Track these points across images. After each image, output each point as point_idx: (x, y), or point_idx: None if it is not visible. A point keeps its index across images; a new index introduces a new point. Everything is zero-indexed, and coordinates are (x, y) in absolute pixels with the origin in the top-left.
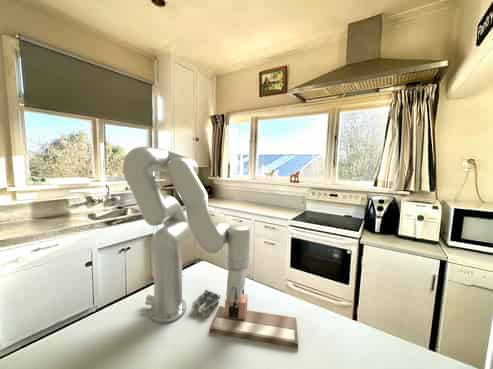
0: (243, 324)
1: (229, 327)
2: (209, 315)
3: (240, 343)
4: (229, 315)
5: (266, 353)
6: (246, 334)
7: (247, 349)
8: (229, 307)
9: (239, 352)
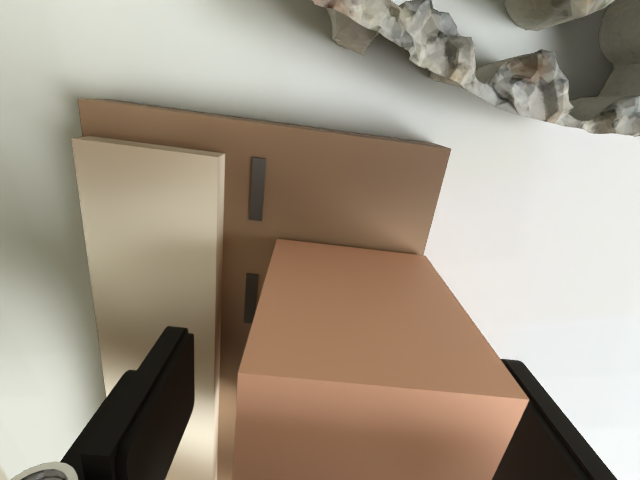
0: None
1: (112, 309)
2: (339, 44)
3: (88, 354)
4: (162, 340)
5: None
6: None
7: (58, 393)
8: (99, 431)
9: (16, 353)
